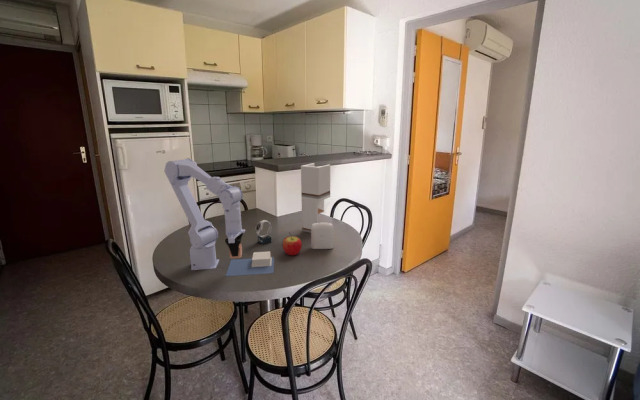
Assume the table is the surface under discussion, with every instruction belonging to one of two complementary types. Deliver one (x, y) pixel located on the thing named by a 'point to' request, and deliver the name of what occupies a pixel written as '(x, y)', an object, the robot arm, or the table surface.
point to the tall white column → (313, 193)
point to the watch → (263, 238)
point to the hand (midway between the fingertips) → (235, 253)
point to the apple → (292, 245)
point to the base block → (261, 258)
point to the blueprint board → (248, 268)
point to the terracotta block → (238, 252)
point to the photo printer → (322, 235)
